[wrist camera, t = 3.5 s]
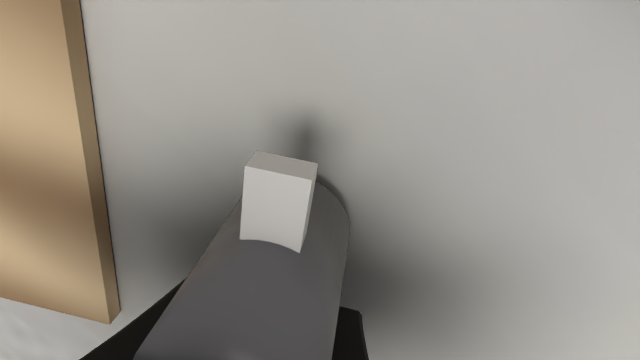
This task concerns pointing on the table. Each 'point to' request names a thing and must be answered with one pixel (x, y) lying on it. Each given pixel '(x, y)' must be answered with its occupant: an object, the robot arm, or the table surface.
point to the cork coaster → (51, 166)
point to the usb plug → (263, 274)
